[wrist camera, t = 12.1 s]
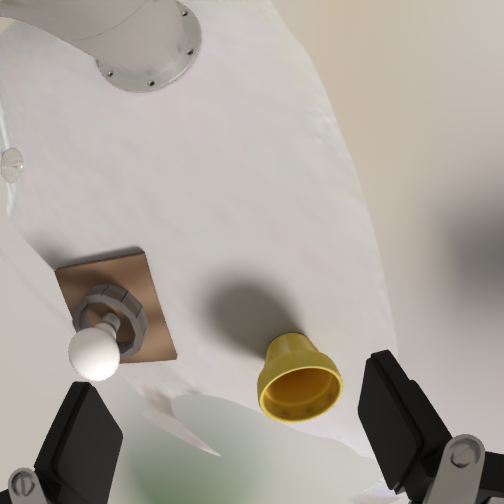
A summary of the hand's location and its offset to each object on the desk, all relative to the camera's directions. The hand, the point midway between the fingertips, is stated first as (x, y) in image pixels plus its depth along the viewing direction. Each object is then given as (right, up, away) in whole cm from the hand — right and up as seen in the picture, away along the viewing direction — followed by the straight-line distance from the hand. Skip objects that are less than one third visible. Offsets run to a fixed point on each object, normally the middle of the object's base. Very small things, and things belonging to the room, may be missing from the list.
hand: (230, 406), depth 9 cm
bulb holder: (-18, -3, +29) cm, 35 cm away
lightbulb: (-18, -4, +28) cm, 34 cm away
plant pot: (+6, -9, +33) cm, 35 cm away
